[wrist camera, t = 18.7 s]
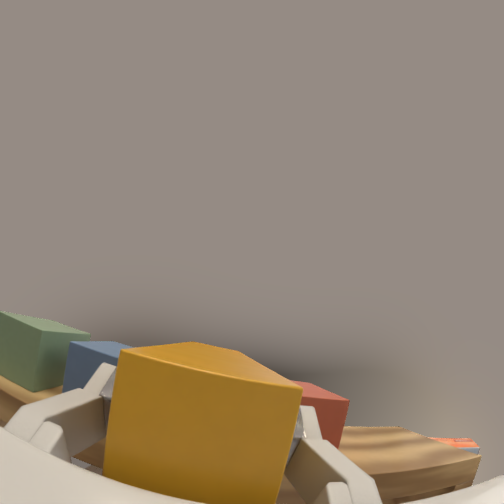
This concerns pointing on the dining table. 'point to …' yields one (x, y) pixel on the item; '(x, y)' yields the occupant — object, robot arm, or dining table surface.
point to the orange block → (200, 424)
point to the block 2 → (88, 361)
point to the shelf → (351, 445)
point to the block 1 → (35, 350)
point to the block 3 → (326, 410)
